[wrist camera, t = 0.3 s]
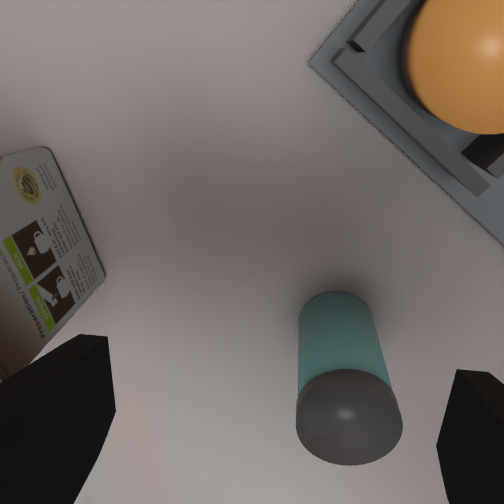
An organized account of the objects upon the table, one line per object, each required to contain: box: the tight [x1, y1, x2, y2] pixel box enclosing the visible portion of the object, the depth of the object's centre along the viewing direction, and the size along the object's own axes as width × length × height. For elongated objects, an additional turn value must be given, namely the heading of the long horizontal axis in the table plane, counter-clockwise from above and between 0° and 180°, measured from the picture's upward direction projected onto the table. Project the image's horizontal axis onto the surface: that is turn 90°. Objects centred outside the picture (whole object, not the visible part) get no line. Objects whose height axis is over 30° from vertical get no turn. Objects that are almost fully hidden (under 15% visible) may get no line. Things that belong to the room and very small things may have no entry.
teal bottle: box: [296, 291, 403, 465], centre depth 17 cm, size 3×3×6 cm
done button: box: [401, 0, 504, 134], centre depth 12 cm, size 4×4×2 cm
